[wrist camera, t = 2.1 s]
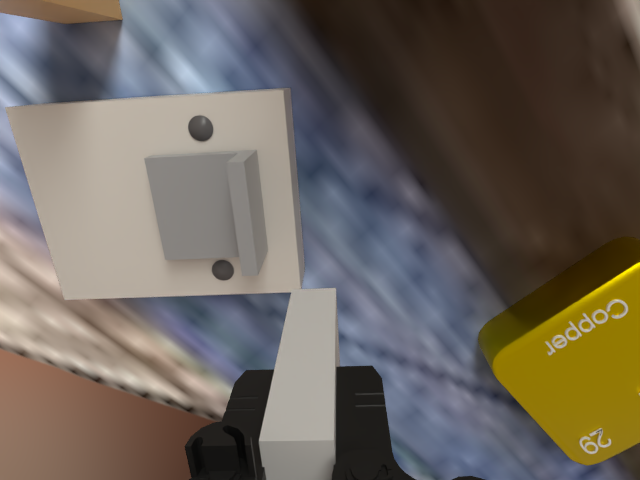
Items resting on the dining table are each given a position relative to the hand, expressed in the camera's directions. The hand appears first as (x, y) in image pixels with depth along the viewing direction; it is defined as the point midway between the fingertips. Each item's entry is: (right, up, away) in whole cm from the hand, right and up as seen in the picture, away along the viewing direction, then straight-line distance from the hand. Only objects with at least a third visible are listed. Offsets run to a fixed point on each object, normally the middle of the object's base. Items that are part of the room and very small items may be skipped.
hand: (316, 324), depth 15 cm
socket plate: (-11, +7, +18) cm, 22 cm away
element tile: (+23, -6, +22) cm, 33 cm away
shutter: (-7, +5, +14) cm, 17 cm away
